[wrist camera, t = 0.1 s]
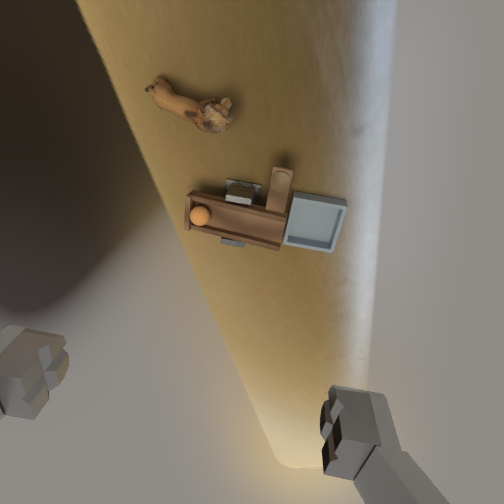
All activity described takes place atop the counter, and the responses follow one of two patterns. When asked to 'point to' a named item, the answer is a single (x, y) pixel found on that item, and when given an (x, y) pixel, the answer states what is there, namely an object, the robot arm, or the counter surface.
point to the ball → (199, 215)
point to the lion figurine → (192, 107)
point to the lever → (246, 214)
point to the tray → (314, 221)
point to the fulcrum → (240, 200)
